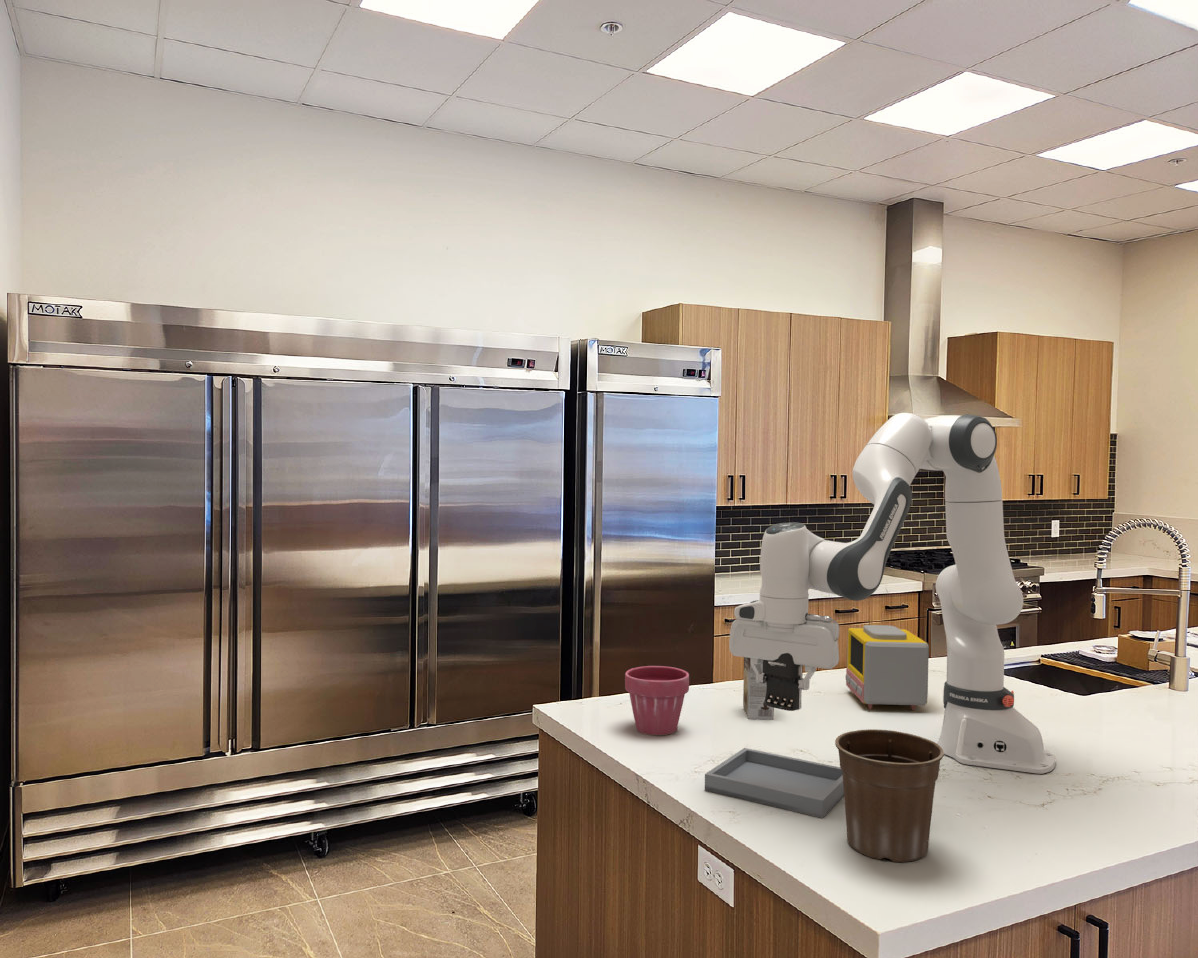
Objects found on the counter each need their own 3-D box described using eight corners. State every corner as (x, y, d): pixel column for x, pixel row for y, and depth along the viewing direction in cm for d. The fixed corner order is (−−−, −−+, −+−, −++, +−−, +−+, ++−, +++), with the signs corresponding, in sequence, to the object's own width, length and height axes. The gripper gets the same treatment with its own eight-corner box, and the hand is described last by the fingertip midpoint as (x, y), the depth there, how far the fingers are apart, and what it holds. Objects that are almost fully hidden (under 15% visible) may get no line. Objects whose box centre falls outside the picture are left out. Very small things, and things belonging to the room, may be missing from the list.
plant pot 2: (898, 880, 129) (901, 769, 128) (811, 840, 142) (813, 740, 141) (962, 852, 138) (965, 749, 138) (875, 817, 151) (877, 723, 151)
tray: (853, 785, 166) (854, 769, 166) (822, 817, 151) (822, 800, 151) (744, 762, 178) (744, 747, 178) (704, 790, 163) (704, 773, 162)
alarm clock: (843, 690, 235) (844, 621, 235) (904, 692, 234) (905, 622, 234) (862, 712, 215) (864, 636, 215) (928, 713, 215) (930, 637, 214)
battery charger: (759, 706, 165) (760, 645, 165) (769, 702, 168) (770, 642, 168) (792, 714, 160) (793, 651, 160) (803, 709, 163) (804, 647, 163)
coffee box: (742, 708, 217) (743, 642, 217) (768, 708, 217) (769, 643, 216) (747, 719, 208) (748, 650, 207) (775, 719, 208) (776, 651, 207)
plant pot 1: (616, 735, 194) (617, 677, 194) (633, 717, 208) (634, 663, 207) (681, 742, 190) (682, 682, 190) (693, 724, 203) (694, 668, 203)
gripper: (844, 614, 161) (843, 690, 161) (739, 603, 172) (738, 674, 172) (833, 619, 155) (832, 698, 156) (726, 607, 166) (724, 681, 167)
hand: (782, 685), depth 164 cm, fingers closed on battery charger, 7 cm apart
